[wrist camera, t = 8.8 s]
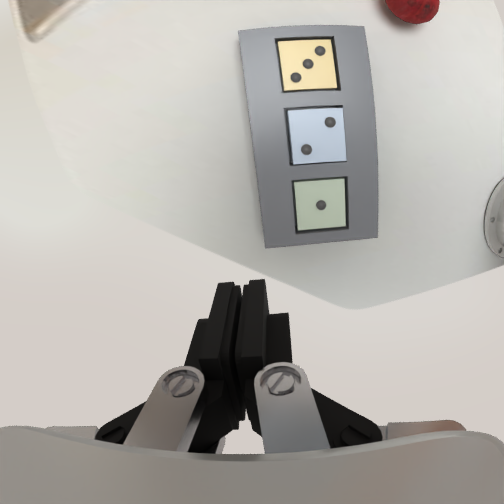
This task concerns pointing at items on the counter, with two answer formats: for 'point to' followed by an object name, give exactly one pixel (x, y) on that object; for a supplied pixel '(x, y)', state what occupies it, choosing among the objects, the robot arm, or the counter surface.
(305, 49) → the tile three
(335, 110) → the tile two
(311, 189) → the tile one
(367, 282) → the counter surface
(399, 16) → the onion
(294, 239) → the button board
